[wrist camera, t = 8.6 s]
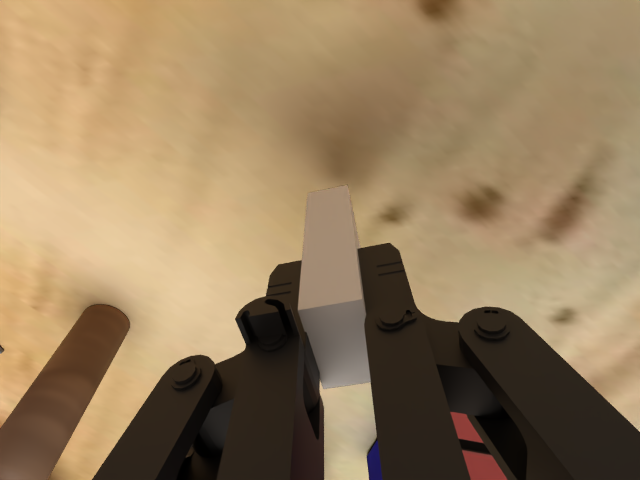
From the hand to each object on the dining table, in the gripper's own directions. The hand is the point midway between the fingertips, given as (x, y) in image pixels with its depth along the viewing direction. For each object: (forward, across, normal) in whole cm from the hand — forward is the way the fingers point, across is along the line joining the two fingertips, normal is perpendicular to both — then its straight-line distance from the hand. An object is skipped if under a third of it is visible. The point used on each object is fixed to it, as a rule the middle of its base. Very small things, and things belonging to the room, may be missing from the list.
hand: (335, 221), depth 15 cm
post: (+4, +14, +6) cm, 16 cm away
